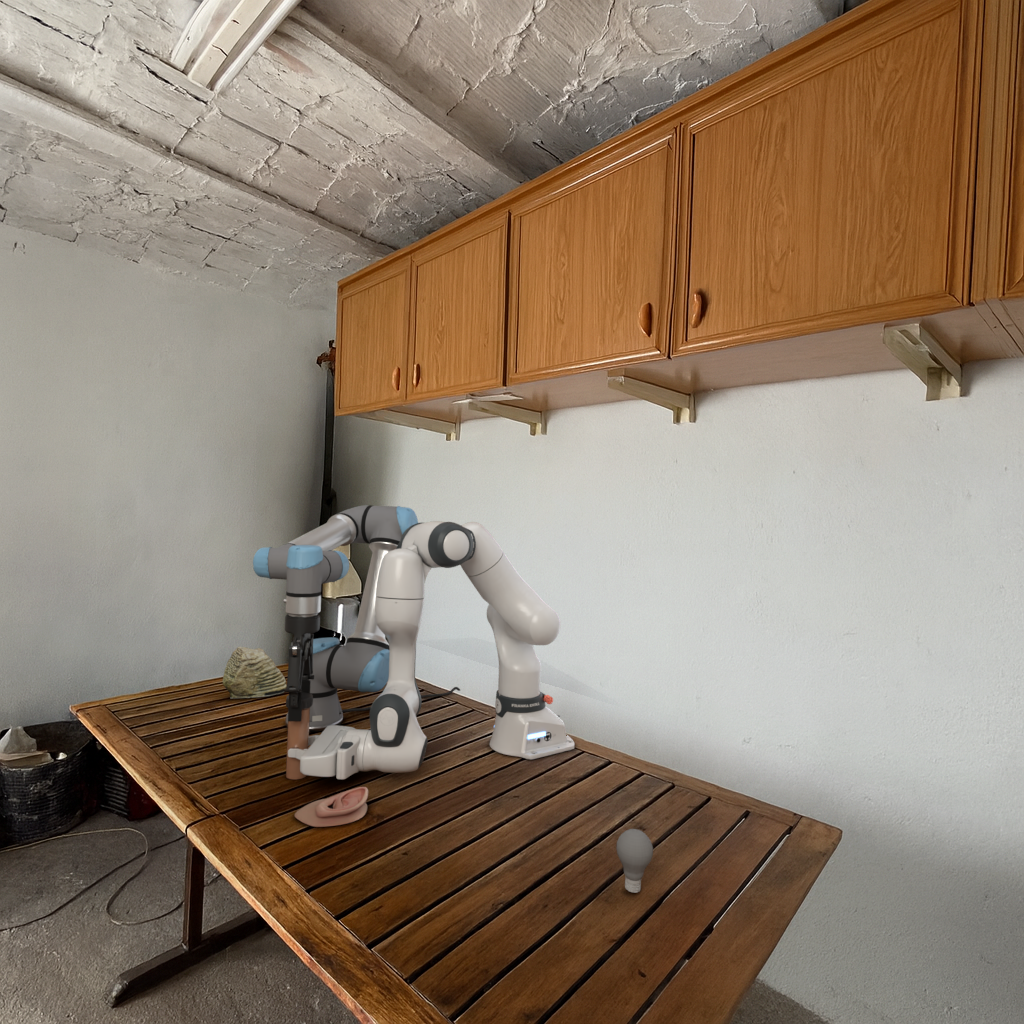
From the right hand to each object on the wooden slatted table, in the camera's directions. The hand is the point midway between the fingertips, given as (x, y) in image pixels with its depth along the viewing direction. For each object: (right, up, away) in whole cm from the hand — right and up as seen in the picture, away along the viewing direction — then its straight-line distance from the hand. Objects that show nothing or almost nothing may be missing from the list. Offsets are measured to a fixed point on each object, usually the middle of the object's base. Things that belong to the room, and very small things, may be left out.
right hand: (293, 746), depth 143 cm
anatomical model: (+13, -7, -17) cm, 23 cm away
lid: (+1, +11, 0) cm, 11 cm away
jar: (+1, -6, 0) cm, 6 cm away
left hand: (+1, +7, 0) cm, 7 cm away
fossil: (-31, -4, +55) cm, 63 cm away
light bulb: (+70, -10, -38) cm, 80 cm away
